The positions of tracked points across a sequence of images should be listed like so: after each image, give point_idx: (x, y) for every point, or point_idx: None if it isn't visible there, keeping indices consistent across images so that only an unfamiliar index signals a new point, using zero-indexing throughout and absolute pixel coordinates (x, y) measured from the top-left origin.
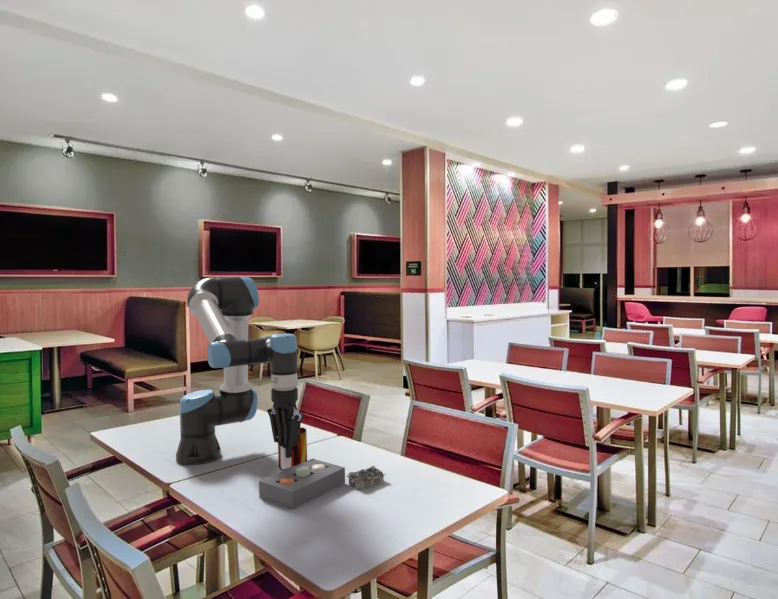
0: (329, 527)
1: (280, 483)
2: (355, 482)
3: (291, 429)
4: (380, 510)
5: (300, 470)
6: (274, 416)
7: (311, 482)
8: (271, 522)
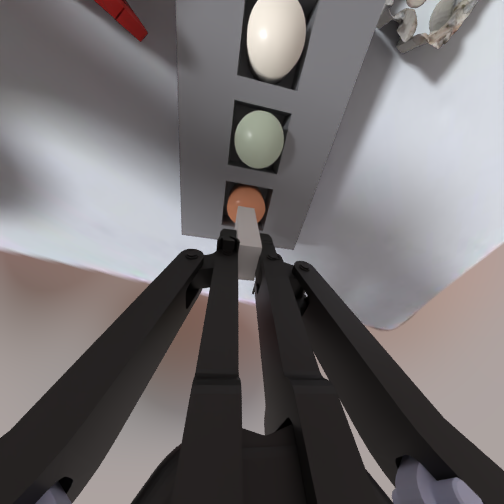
0: (369, 253)
1: None
2: (416, 43)
3: (332, 375)
4: (465, 162)
5: (259, 158)
6: (89, 457)
7: (313, 189)
8: None
